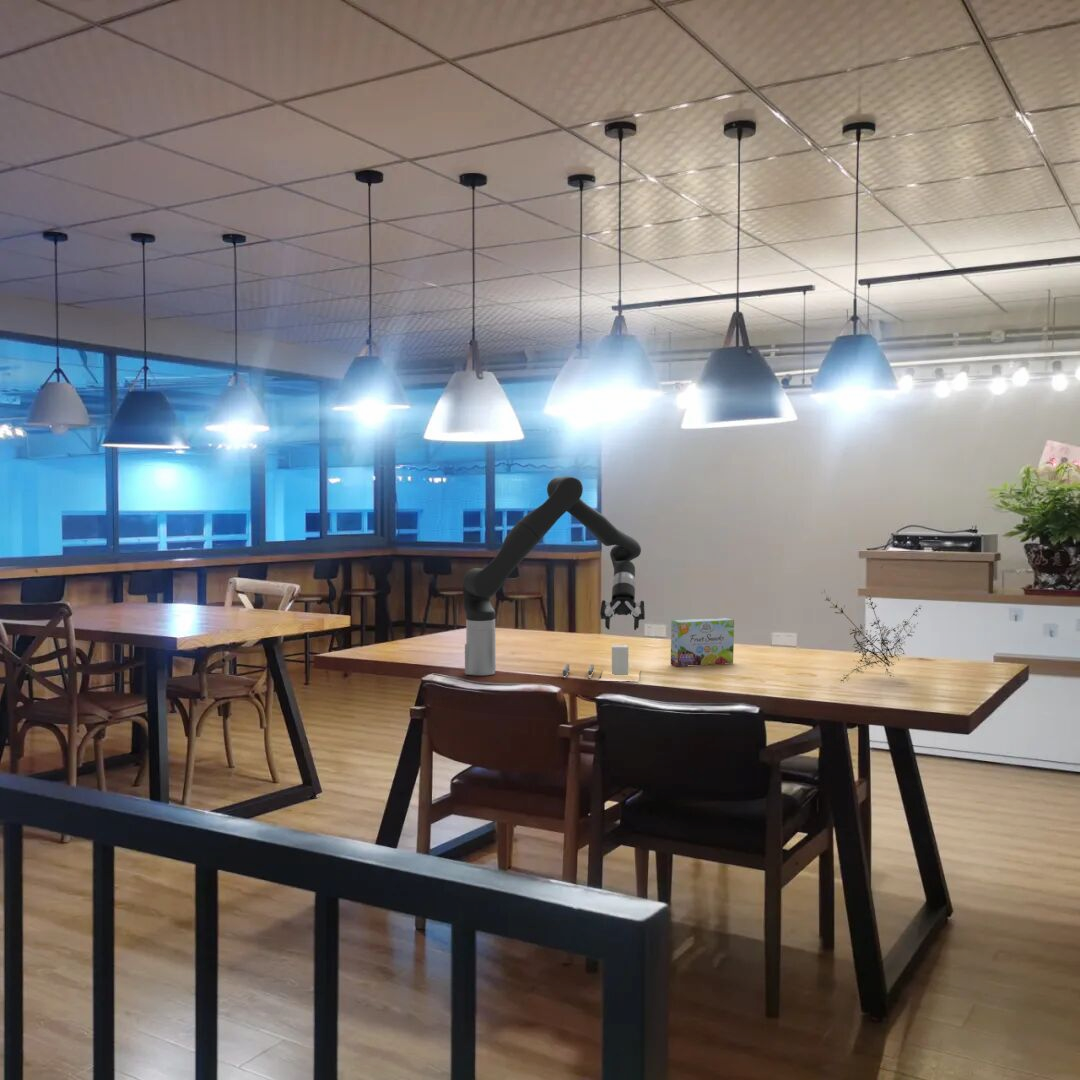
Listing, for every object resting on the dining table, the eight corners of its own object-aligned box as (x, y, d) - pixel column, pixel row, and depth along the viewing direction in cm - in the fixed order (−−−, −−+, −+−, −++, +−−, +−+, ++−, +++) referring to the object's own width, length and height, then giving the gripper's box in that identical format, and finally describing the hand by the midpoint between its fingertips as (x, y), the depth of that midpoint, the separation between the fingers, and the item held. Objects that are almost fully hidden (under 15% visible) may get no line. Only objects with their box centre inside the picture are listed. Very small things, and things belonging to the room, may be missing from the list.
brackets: (563, 678, 325) (563, 670, 325) (566, 671, 337) (566, 664, 337) (590, 679, 324) (590, 670, 324) (593, 672, 336) (593, 664, 336)
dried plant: (856, 614, 341) (817, 564, 305) (957, 629, 323) (928, 578, 288) (835, 705, 333) (793, 664, 297) (937, 725, 316) (905, 685, 280)
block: (611, 676, 327) (611, 647, 327) (612, 673, 332) (612, 644, 331) (627, 676, 326) (628, 647, 326) (628, 673, 331) (628, 645, 331)
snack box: (678, 667, 345) (678, 621, 344) (670, 665, 350) (670, 619, 350) (734, 663, 353) (734, 618, 352) (725, 661, 358) (725, 616, 358)
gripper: (601, 581, 345) (598, 620, 334) (645, 581, 344) (644, 621, 333) (602, 596, 351) (600, 635, 340) (645, 596, 349) (644, 635, 338)
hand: (621, 628), depth 336 cm, fingers open, 8 cm apart
